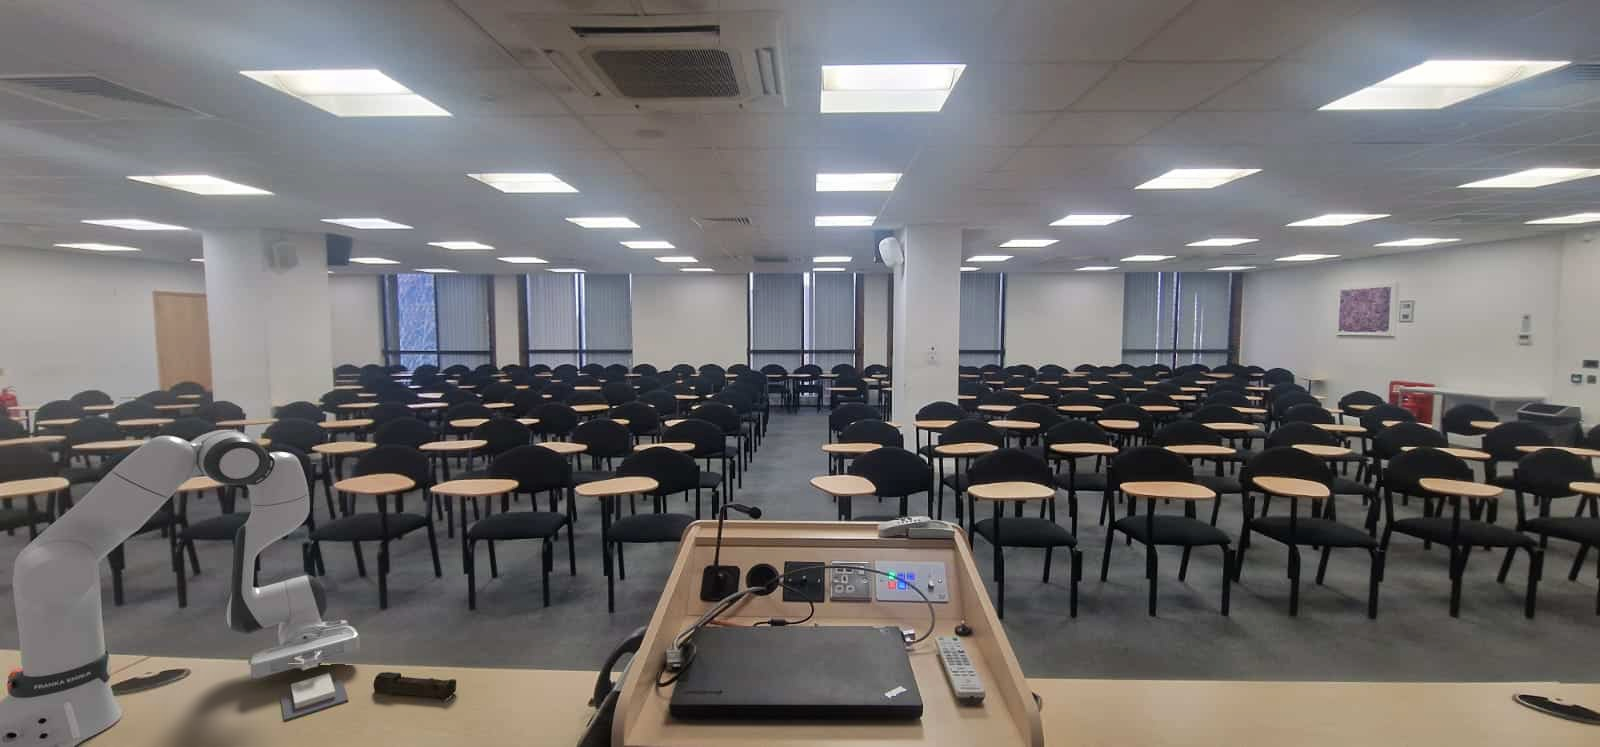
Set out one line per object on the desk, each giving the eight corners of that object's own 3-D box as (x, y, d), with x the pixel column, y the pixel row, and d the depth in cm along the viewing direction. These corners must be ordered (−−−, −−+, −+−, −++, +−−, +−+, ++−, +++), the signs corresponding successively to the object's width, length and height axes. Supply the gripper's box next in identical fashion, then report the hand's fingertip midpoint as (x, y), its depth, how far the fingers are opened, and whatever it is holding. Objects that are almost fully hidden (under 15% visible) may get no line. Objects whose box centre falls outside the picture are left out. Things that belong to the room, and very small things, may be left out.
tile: (291, 690, 146) (295, 710, 138) (291, 684, 146) (294, 703, 138) (329, 679, 151) (335, 697, 143) (329, 672, 150) (335, 691, 143)
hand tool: (458, 693, 146) (457, 673, 145) (445, 703, 142) (444, 683, 141) (384, 685, 149) (383, 666, 149) (369, 695, 145) (368, 675, 145)
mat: (284, 721, 135) (284, 719, 135) (280, 698, 143) (280, 697, 143) (348, 701, 142) (348, 699, 142) (341, 680, 151) (341, 678, 151)
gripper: (246, 644, 150) (248, 667, 140) (353, 617, 164) (362, 637, 153) (248, 670, 151) (250, 696, 140) (355, 642, 164) (364, 663, 154)
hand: (310, 665), depth 147 cm, fingers closed
